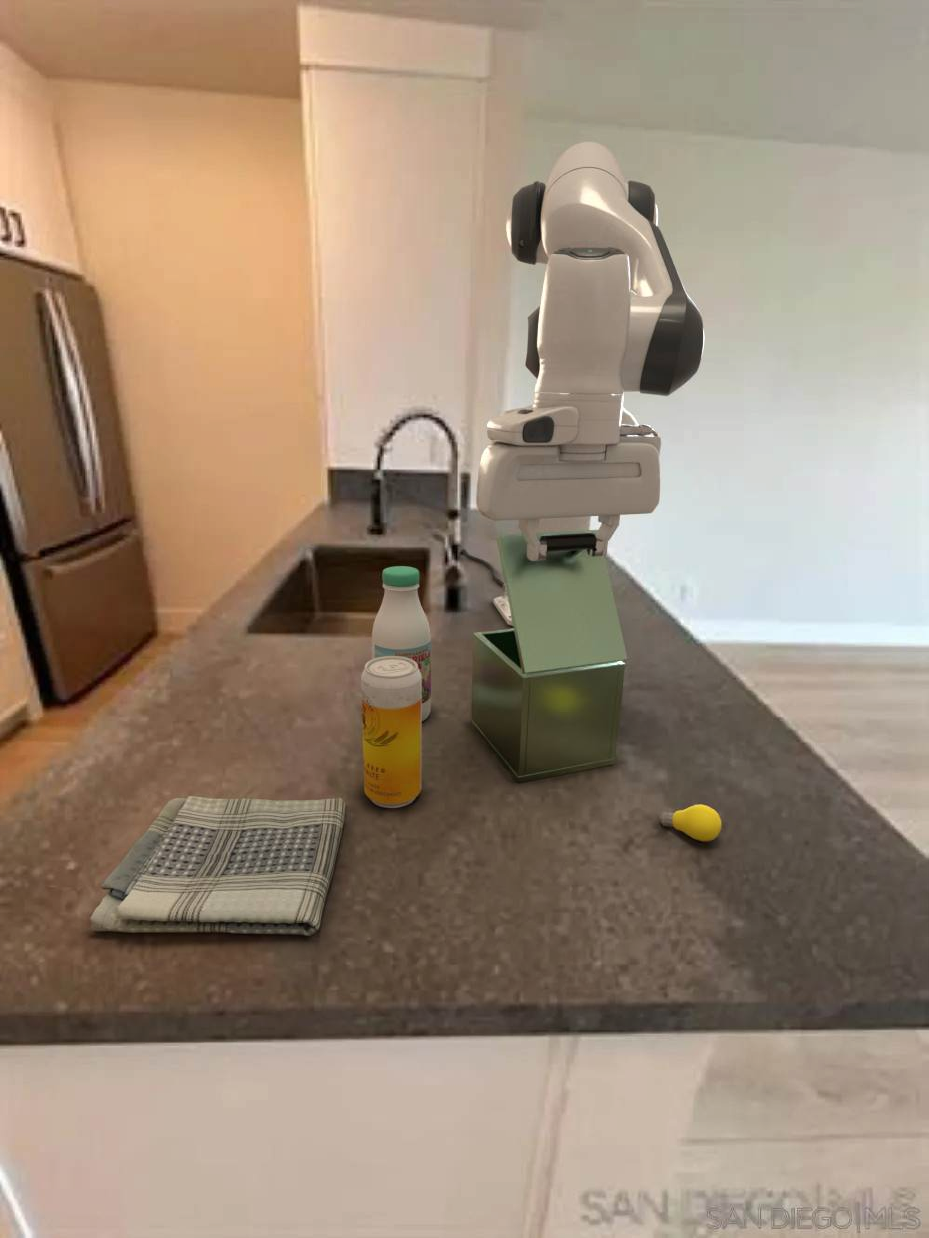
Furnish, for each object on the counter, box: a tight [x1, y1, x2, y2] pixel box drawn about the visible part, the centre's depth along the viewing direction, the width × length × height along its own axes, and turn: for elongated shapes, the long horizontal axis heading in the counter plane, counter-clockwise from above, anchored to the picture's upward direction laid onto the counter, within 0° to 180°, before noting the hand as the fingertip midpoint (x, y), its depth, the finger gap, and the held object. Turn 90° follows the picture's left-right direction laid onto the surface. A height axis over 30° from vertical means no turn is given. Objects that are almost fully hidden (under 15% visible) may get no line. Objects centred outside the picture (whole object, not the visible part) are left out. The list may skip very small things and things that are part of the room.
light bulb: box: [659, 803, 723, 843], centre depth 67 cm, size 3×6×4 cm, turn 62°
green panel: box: [495, 529, 629, 674], centre depth 72 cm, size 15×13×5 cm
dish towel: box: [89, 795, 347, 937], centre depth 60 cm, size 19×18×3 cm
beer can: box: [360, 656, 423, 809], centre depth 70 cm, size 6×6×15 cm
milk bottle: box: [371, 565, 432, 722], centre depth 87 cm, size 8×8×20 cm
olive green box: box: [470, 628, 626, 784], centre depth 82 cm, size 15×13×13 cm
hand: (566, 557), depth 73 cm, fingers closed on green panel, 6 cm apart
